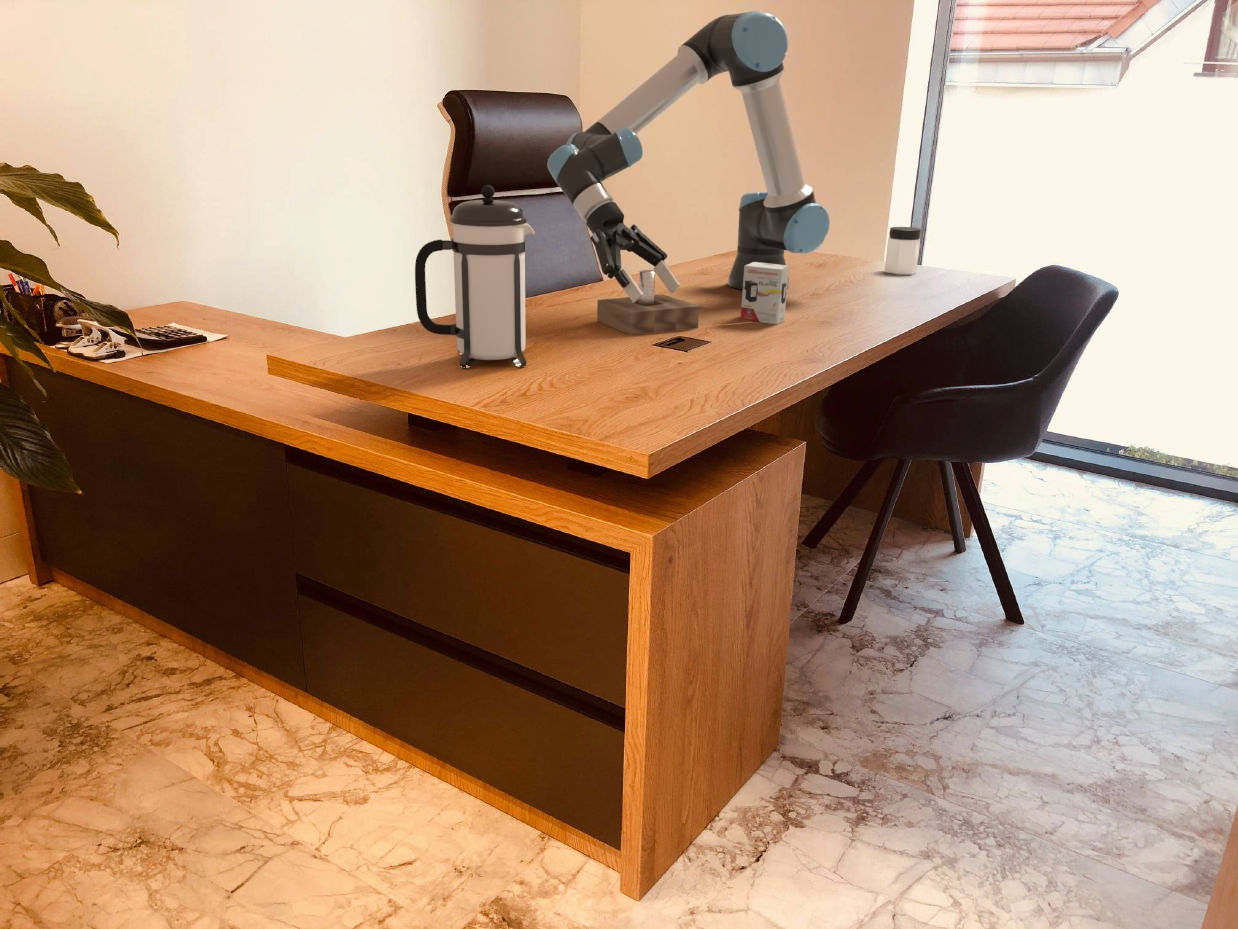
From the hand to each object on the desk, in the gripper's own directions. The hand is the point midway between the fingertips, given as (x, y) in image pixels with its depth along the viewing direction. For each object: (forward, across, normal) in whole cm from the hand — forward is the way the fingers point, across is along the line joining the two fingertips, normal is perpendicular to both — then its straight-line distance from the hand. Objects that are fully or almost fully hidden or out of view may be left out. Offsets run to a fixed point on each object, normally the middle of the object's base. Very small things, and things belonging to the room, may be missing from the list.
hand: (657, 293), depth 205 cm
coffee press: (0, +44, -10) cm, 45 cm away
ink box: (+15, -20, +5) cm, 25 cm away
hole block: (+3, 0, -6) cm, 7 cm away
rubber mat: (-1, -18, -10) cm, 21 cm away
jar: (+13, -104, +4) cm, 105 cm away
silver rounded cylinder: (+3, 0, -6) cm, 7 cm away
